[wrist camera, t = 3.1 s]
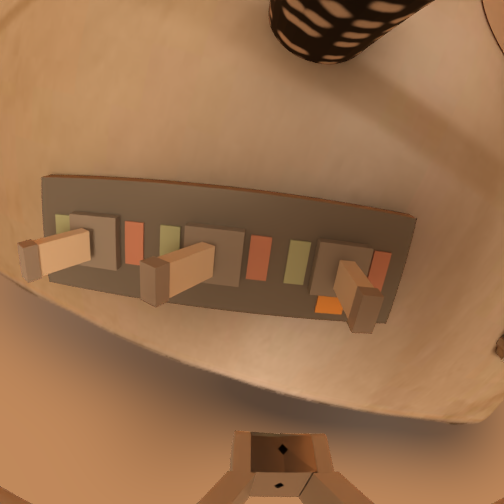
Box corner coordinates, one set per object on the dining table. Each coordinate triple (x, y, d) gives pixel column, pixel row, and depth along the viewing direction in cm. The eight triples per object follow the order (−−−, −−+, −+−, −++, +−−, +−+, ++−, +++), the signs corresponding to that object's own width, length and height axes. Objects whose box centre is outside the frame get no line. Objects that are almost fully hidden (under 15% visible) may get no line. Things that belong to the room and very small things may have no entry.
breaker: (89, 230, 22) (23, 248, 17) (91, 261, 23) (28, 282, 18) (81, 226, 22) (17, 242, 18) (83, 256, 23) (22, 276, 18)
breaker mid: (216, 245, 22) (155, 268, 17) (213, 278, 23) (155, 307, 18) (201, 240, 23) (139, 260, 18) (198, 272, 24) (140, 299, 19)
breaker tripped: (356, 260, 23) (384, 297, 17) (348, 291, 24) (371, 333, 18) (339, 258, 23) (363, 295, 17) (331, 289, 24) (351, 332, 18)
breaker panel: (409, 214, 25) (422, 221, 22) (380, 315, 28) (389, 329, 26) (50, 174, 24) (34, 178, 21) (56, 275, 27) (44, 286, 25)
